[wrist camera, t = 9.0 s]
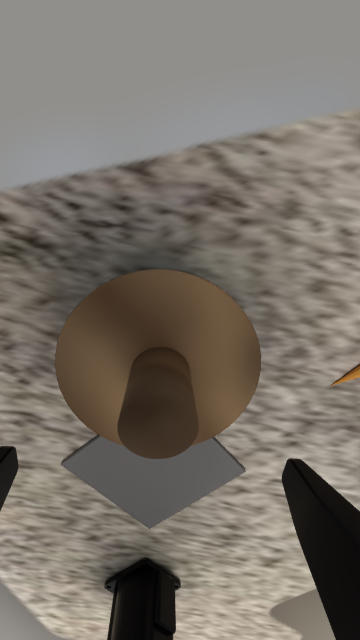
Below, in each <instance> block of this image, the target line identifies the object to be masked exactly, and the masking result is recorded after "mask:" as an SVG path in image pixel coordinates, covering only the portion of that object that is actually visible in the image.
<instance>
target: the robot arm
mask: <svg viewBox="0 0 360 640" xmlns="http://www.w3.org/2000/svg"><path fill="white" fill-rule="evenodd" d="M17 471H18V459H17V452H16V448H15V447H13V446H1V447H0V511H1V509H2V506H3V504H4V502H5V499H6V497H7V495H8V492H9V490H10V488H11V485H12V483H13V481H14V479H15V476H16V474H17ZM282 483H283V487H284V491H285V494H286V498H287V501H288V505H289V509H290V512H291V516H292V519H293V523H294V526H295V530H296V533H297V536H298V539H299V542H300V545H301V547H302V550H303V553H304V555H305V558H306V561H307V563H308V566H309V569H310V571H311V574H312V577H313V579H314V582H315V585H316V587H317V590H318V592H319V595H320V598H321V601H322V603H323V606H324V609H325V612H326V614H327V617H328V619H329V622H330V625H331V628H332V630H333V633H334V636H335V638H336V640H360V511H359V510H357V509H356V508H355V507H354V506H353V505H352V504H351V503H350V502H348V501H347V500H346V499H345V498H344V497H343V496H342V495H341V494H339V493H338V492H337V491H336V490H335V489H334V488H333V487H332V486H330V485H329V484H328V483H327V482H326V481H325V480H324V479H323V478H321V477H320V476H319V475H318V474H317V473H316V472H315V471H314V470H312V469H311V468H310V467H309V466H308V465H307V464H306V463H305V462H303V461H302V460H301V459H293V458H290V459H288V460H287V462H286V465H285V468H284V471H283V474H282ZM104 587H105V589H107V590H108V591H110V592H112V593H114V596H113V603H112V610H111V617H110V624H109V631H108V638H107V640H173V634H174V633H175V631H176V615H175V591H176V590H177V589H179V588H180V587H181V583H180V581H179V580H178V579H176V578H175V577H173V576H172V575H170V574H169V573H167V572H166V571H164V570H163V569H161V568H160V567H158V566H157V565H155V564H154V563H152V562H151V561H149V560H147V559H145V560H142V561H140V562H138V563H137V564H135V565H133V566H131V567H130V568H128V569H126V570H124V571H123V572H121V573H119V574H117V575H116V576H114V577H112V578H110V579H109V580H107V581H106V582H105V586H104Z"/></svg>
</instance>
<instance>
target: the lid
mask: <svg viewBox="0 0 360 640" xmlns="http://www.w3.org/2000/svg"><path fill="white" fill-rule="evenodd" d="M55 369H56V376H57V381H58V384H59V387H60V390H61V392H62V395H63V397H64V399H65V401H66V402H67V404H68V405H69V407H70V409H71V410H72V411H73V413H74V414H75V415H76V416H77V417H78V418H79V420H81V421H82V422H83V423H84V424H85V425H86V426H87V427H88V428H90V429H91V430H93V431H94V432H95V433H97V434H98V435H100V436H102V437H104V438H106V439H107V440H110V441H112V442H114V443H117V444H119V445H123V446H125V447H126V448H127V449H128V450H130V451H131V452H133V453H134V454H136V455H138V456H141V457H144V458H149V459H166V458H170V457H174V456H176V455H179V454H180V453H182V452H184V451H185V450H187V449H188V448H189V447H190V446H193V445H196V444H199V443H201V442H204V441H206V440H208V439H210V438H212V437H214V436H215V435H217V434H219V433H220V432H222V431H223V430H225V429H226V428H227V427H229V426H230V425H231V424H232V423H233V422H234V421H235V420H236V419H237V418H238V417H239V416H240V415H241V413H242V412H243V411H244V410H245V408H246V407H247V405H248V404H249V402H250V401H251V399H252V396H253V394H254V392H255V390H256V387H257V384H258V381H259V376H260V370H261V354H260V346H259V342H258V338H257V335H256V332H255V330H254V328H253V326H252V323H251V322H250V320H249V319H248V317H247V315H246V314H245V312H244V311H243V310H242V309H241V308H240V307H239V305H238V304H237V303H236V302H235V301H234V300H233V299H232V298H231V297H230V296H229V295H228V294H227V293H226V292H224V291H223V290H222V289H221V288H219V287H218V286H216V285H214V284H213V283H211V282H210V281H207V280H205V279H203V278H201V277H199V276H196V275H193V274H190V273H186V272H182V271H176V270H170V269H149V270H140V271H136V272H131V273H127V274H124V275H122V276H119V277H116V278H114V279H112V280H110V281H108V282H106V283H105V284H103V285H101V286H100V287H98V288H97V289H96V290H94V291H93V292H92V293H90V294H89V295H88V296H87V297H86V298H85V299H84V300H83V301H82V302H81V303H80V304H79V305H78V306H77V307H76V308H75V309H74V311H73V312H72V313H71V315H70V316H69V317H68V319H67V321H66V323H65V325H64V326H63V328H62V330H61V333H60V336H59V339H58V342H57V348H56V354H55Z"/></svg>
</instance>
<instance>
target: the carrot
mask: <svg viewBox="0 0 360 640" xmlns="http://www.w3.org/2000/svg"><path fill="white" fill-rule="evenodd" d="M358 377H360V366H358V367H357V368H355V369H354V370H353V371H351V372H350V373H348V374H347V375H345V376H344V377H343V378H341V379H340V380H338V381H337V382H335V383H334V384H333V385H335V384H338V383H341V382H345V381H348V380H351V379H354V378H358ZM331 386H332V385H331Z"/></svg>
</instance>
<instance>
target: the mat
mask: <svg viewBox="0 0 360 640" xmlns="http://www.w3.org/2000/svg"><path fill="white" fill-rule="evenodd" d="M61 465H62V466H63V467H65V468H66V469H68V470H69V471H70V472H72V473H73V474H75V475H76V476H77V477H79V478H80V479H81V480H83V481H84V482H86V483H87V484H88V485H90V486H91V487H92V488H94V489H95V490H97V491H98V492H99V493H101V494H102V495H103V496H105V497H106V498H108V499H109V500H110V501H112V502H113V503H114V504H116V505H117V506H119V507H120V508H121V509H123V510H124V511H126V512H127V513H128V514H130V515H131V516H132V517H134V518H135V519H137V520H138V521H139V522H141V523H142V524H143V525H145V526H146V527H148V528H149V529H150V528H152V527H153V526H155V525H157V524H158V523H160V522H162V521H163V520H165V519H167V518H169V517H170V516H172V515H174V514H175V513H177V512H179V511H180V510H182V509H184V508H185V507H187V506H189V505H190V504H192V503H194V502H195V501H197V500H199V499H200V498H202V497H204V496H206V495H207V494H209V493H211V492H212V491H214V490H216V489H217V488H219V487H221V486H222V485H224V484H226V483H227V482H229V481H231V480H232V479H234V478H236V477H238V476H239V475H241V474H243V473H244V472H246V471H245V468H244V467H243V466H242V465H241V464H240V463H239V462H238V461H237V460H236V459H235V458H234V457H233V456H232V455H231V454H230V453H229V452H228V451H227V450H226V449H225V448H224V447H223V446H222V445H221V444H220V443H219V442H218V441H217V440H216V439H215V438H214V437H212V438H210V439H208V440H206V441H204V442H201V443H199V444H196V445H193V446H190V447H189V448H188V449H187V450H185V451H184V452H182V453H180V454H179V455H176V456H174V457H170V458H166V459H149V458H144V457H141V456H138V455H136V454H134V453H133V452H131V451H130V450H128V449H127V448H126V447H125V446H123V445H119V444H117V443H114V442H112V441H110V440H107V439H106V438H104V437H102V436H100V435H98V436H97V437H95V438H94V439H92V440H91V441H90V442H88V443H87V444H85V445H84V446H83V447H81V448H80V449H78V450H77V451H76V452H74V453H73V454H71V455H70V456H69V457H67V458H66V459H64V460H63V461H62V463H61Z"/></svg>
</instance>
